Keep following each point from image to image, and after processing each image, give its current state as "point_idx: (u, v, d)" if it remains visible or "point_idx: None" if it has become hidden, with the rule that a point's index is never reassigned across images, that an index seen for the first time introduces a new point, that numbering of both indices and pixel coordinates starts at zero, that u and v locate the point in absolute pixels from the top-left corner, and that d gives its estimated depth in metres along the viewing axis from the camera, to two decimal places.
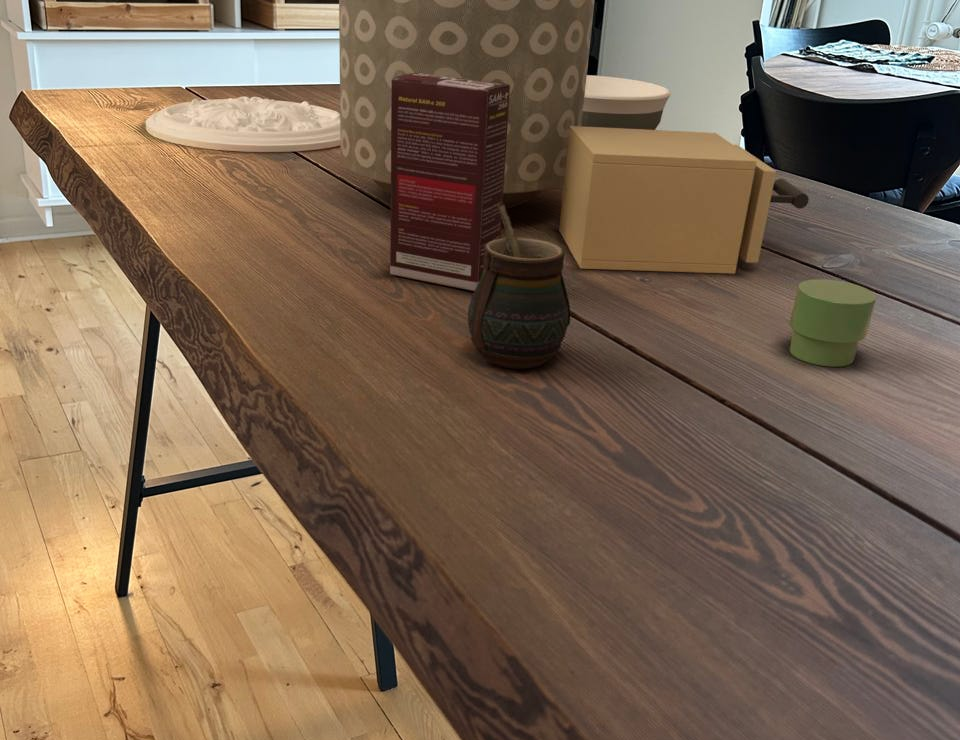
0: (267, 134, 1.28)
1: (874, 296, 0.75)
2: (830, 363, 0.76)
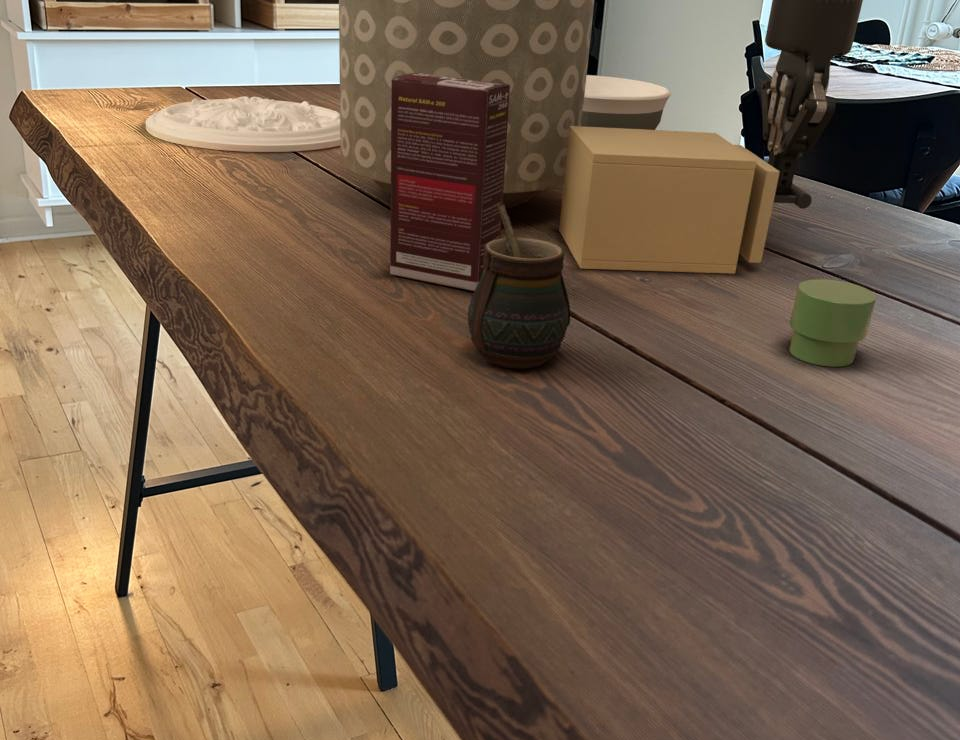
0: (267, 134, 1.28)
1: (874, 296, 0.75)
2: (830, 363, 0.76)
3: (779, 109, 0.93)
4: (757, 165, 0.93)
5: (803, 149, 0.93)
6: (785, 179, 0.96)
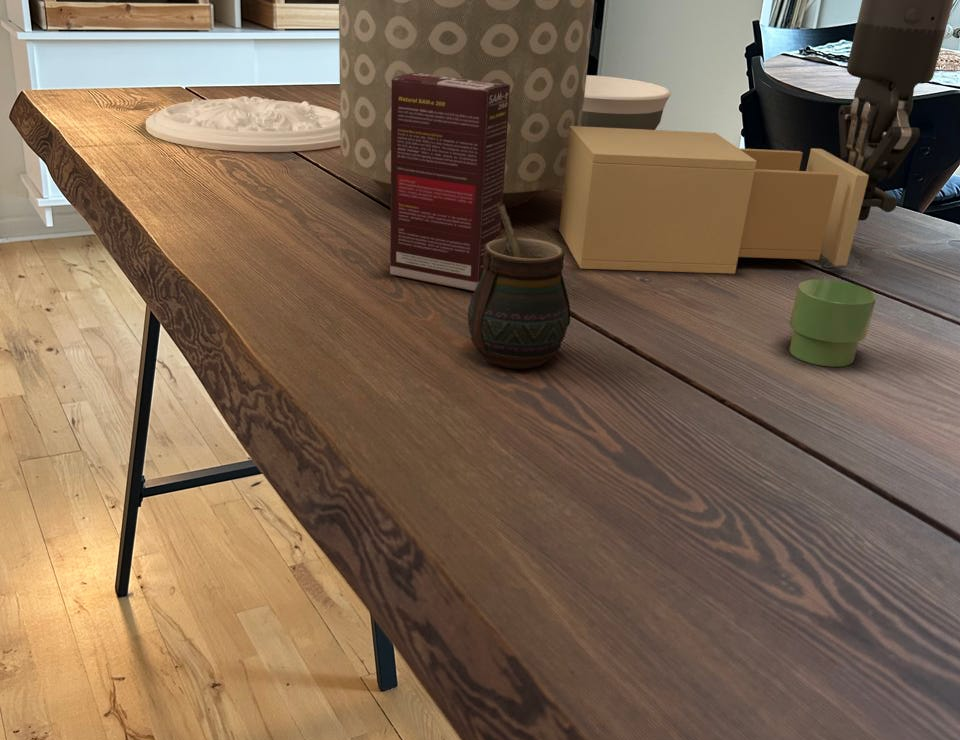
0: (267, 134, 1.28)
1: (874, 296, 0.75)
2: (830, 363, 0.76)
3: (860, 135, 0.95)
4: (845, 169, 0.94)
5: (884, 174, 0.95)
6: None
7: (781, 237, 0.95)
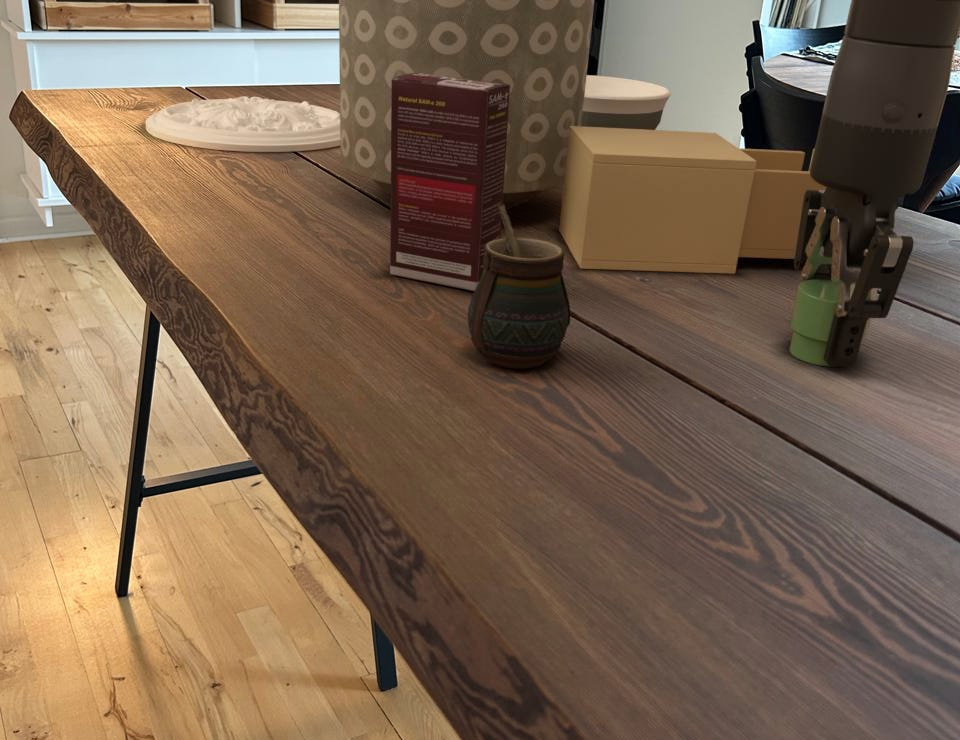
0: (267, 134, 1.28)
1: None
2: None
3: (834, 260, 0.72)
4: None
5: (877, 314, 0.71)
6: (851, 347, 0.74)
7: (783, 237, 0.95)
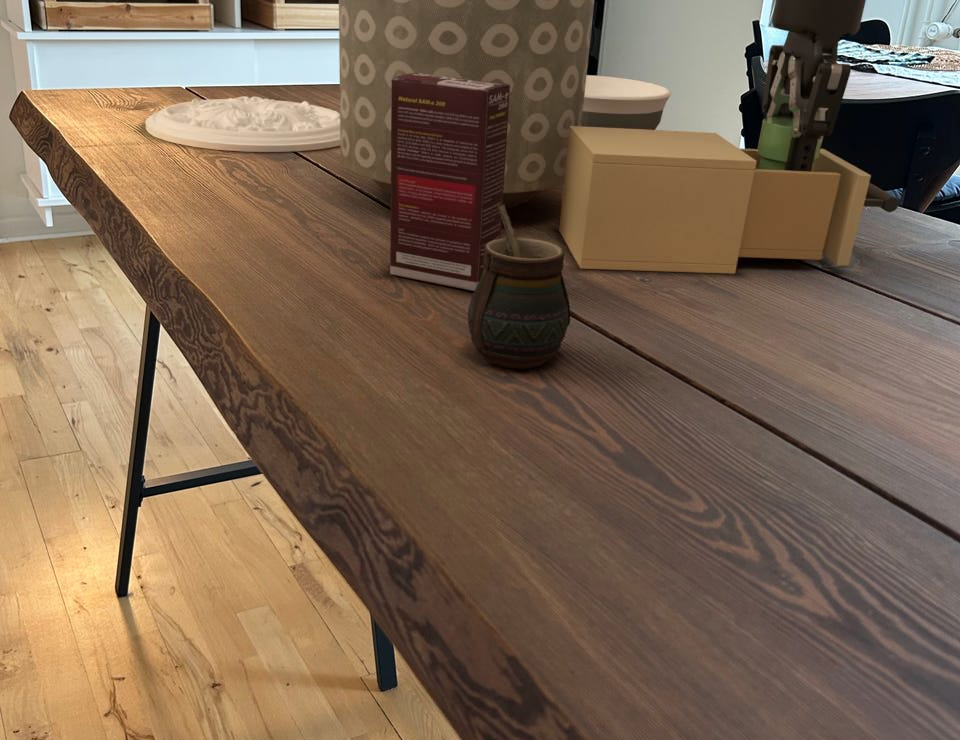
0: (267, 134, 1.28)
1: None
2: None
3: (791, 91, 0.91)
4: (846, 169, 0.94)
5: (824, 131, 0.90)
6: (805, 163, 0.93)
7: (782, 237, 0.95)
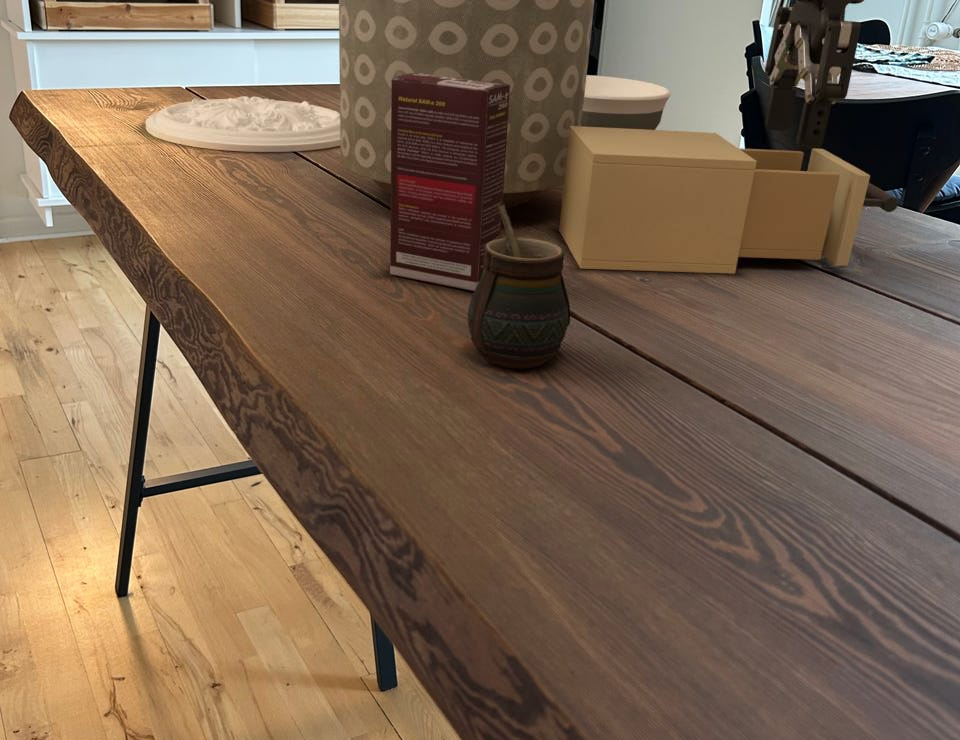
0: (267, 134, 1.28)
1: None
2: None
3: (800, 59, 0.89)
4: (846, 169, 0.94)
5: (838, 94, 0.87)
6: (818, 128, 0.90)
7: (782, 237, 0.95)
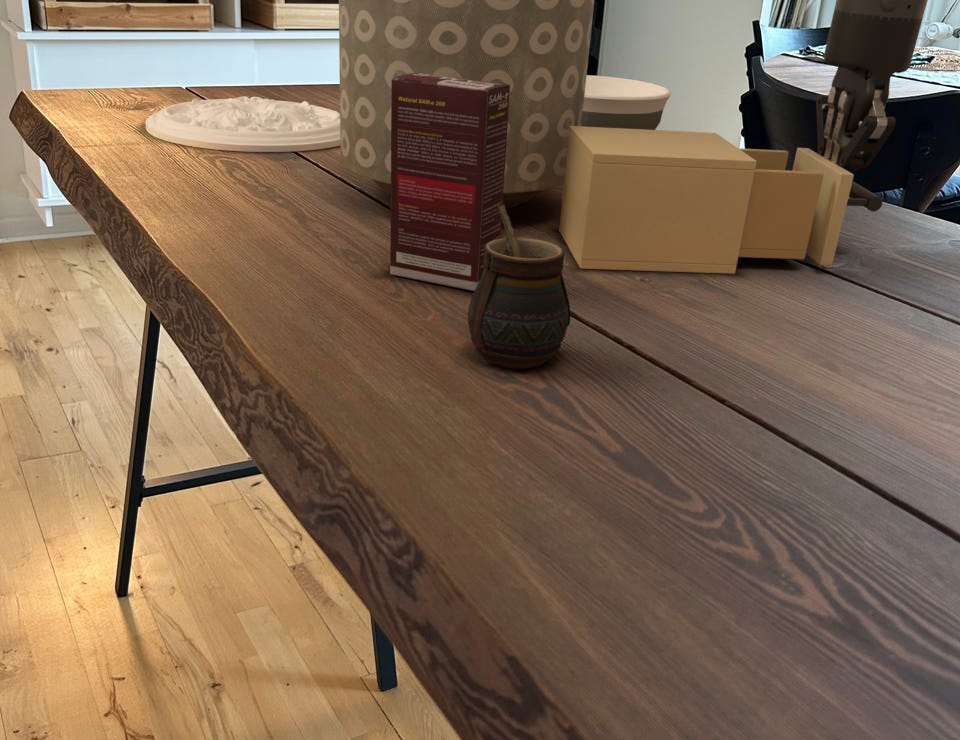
0: (267, 134, 1.28)
1: None
2: None
3: (837, 125, 0.94)
4: (830, 168, 0.94)
5: (861, 164, 0.94)
6: None
7: (766, 236, 0.95)
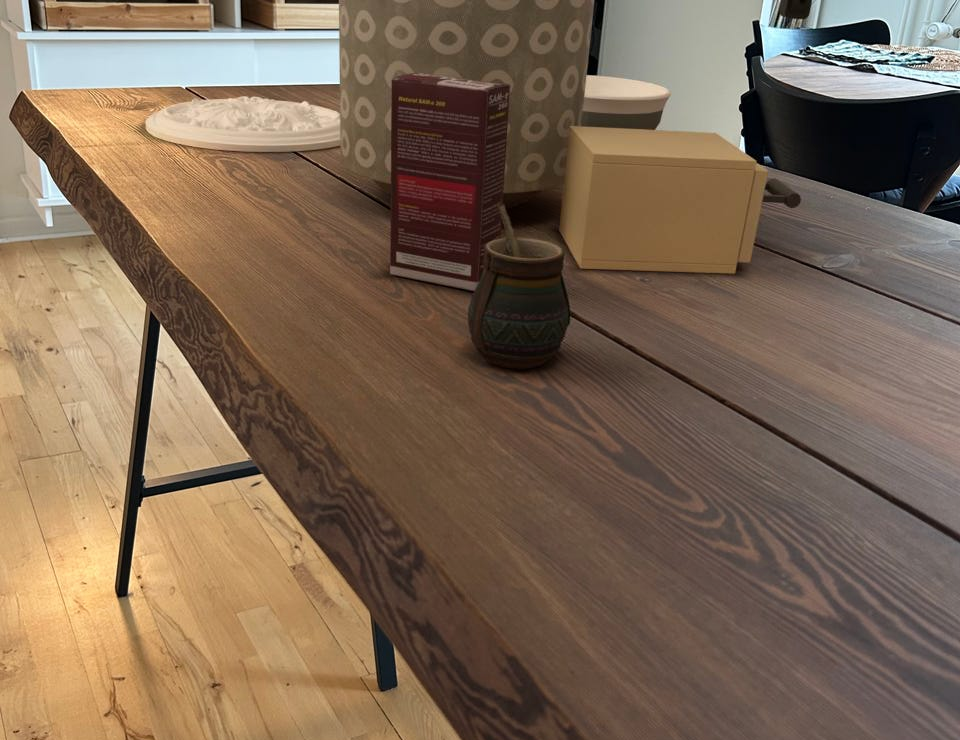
0: (267, 134, 1.28)
1: None
2: None
3: None
4: None
5: None
6: None
7: None
